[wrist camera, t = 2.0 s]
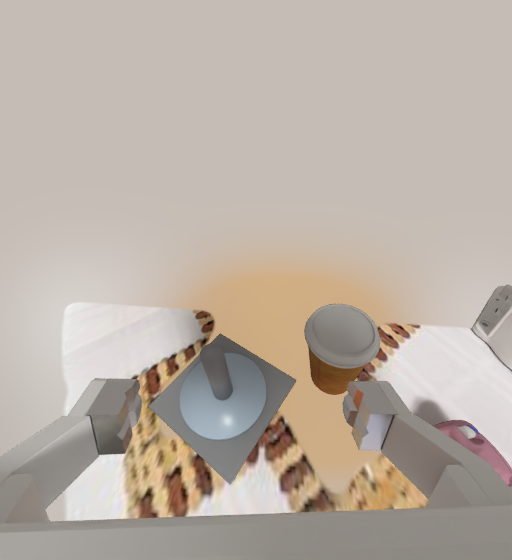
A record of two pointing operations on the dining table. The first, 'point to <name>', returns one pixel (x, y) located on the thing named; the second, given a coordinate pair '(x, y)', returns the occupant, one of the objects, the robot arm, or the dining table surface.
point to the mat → (234, 451)
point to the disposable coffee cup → (339, 345)
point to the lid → (222, 394)
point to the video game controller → (477, 446)
